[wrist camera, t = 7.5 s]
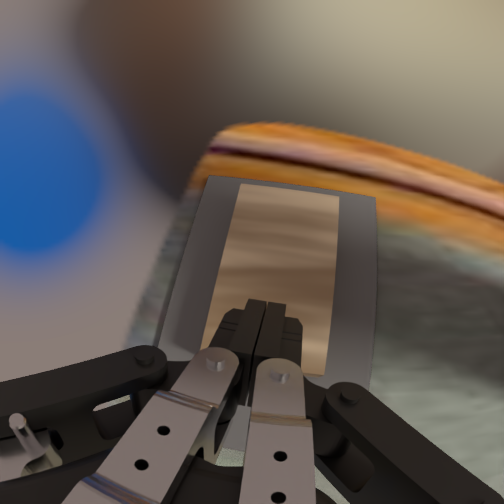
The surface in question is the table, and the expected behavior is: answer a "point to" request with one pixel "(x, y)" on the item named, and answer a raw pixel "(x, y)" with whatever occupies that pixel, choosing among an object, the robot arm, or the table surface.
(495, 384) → the table surface
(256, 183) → the rubber mat
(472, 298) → the table surface
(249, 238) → the maple block
